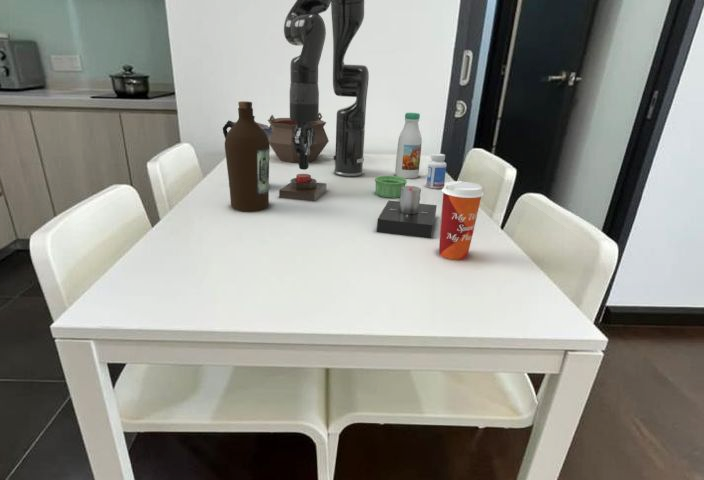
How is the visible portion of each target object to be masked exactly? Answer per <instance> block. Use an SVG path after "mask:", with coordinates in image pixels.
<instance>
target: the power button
mask: <svg viewBox="0 0 704 480" xmlns="http://www.w3.org/2000/svg"><path fill="white" fill-rule="evenodd" d="M295 178H296V181H297V182H311V178H312V175H311V174H310V173H298V174H296V177H295Z"/></svg>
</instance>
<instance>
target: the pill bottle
mask: <svg viewBox="0 0 704 480" xmlns="http://www.w3.org/2000/svg"><path fill="white" fill-rule="evenodd" d="M430 159H431V161H429V162H428V165H427V173H426V184H425V185H426V187H427V188H429V189H435V190H436V189H437V190H438V189H439V190H440V189H443V188H444V186H445V184H446V173H447V162H445V160H446V154H444V153H431V158H430Z"/></svg>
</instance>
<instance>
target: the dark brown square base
mask: <svg viewBox="0 0 704 480" xmlns="http://www.w3.org/2000/svg"><path fill="white" fill-rule="evenodd" d="M325 192H327V183H326V182H317V179H315V178H313V177H311V182H297V181H296V177H293V178H291V179H290V182H289V183H288V184H286V185H284V186H283V187H282V188H280V189H278V198H279V199H285V200H294V201H305V202H316V201H317V200H318V199H319V198H320V197H321V196H322V195H324V194H325Z"/></svg>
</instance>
